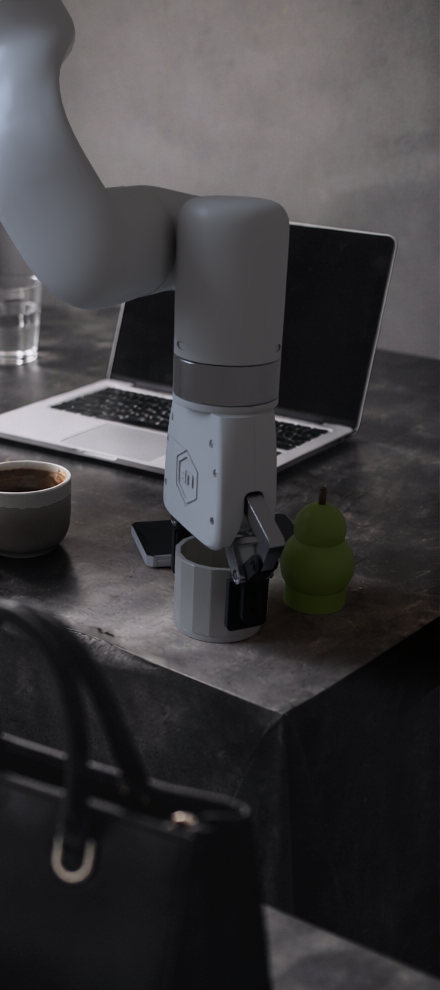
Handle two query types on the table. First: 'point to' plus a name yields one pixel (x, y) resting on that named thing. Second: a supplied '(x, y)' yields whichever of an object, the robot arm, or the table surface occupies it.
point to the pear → (317, 559)
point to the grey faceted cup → (204, 592)
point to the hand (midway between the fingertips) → (216, 597)
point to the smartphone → (158, 538)
